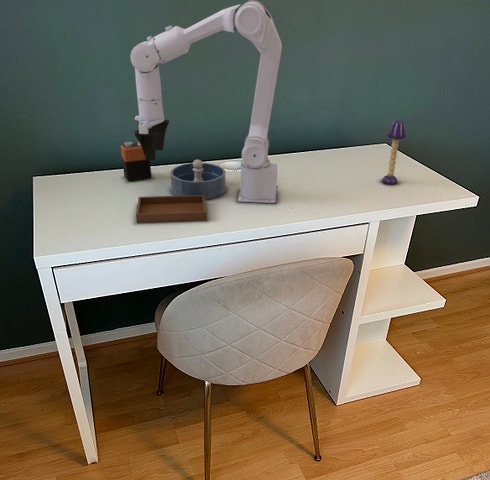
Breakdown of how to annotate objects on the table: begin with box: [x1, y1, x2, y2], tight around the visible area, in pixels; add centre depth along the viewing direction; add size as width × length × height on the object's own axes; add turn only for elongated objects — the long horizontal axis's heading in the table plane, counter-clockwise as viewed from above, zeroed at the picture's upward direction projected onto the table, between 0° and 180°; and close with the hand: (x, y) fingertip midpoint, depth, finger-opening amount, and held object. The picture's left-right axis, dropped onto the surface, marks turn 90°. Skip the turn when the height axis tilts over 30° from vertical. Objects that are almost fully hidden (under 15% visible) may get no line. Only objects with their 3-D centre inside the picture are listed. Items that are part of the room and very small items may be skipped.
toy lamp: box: [381, 119, 406, 186], centre depth 136 cm, size 5×5×17 cm
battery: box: [120, 140, 152, 182], centre depth 137 cm, size 4×7×10 cm, turn 115°
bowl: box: [169, 162, 227, 200], centre depth 132 cm, size 14×14×5 cm
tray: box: [135, 195, 208, 224], centre depth 121 cm, size 16×10×2 cm, turn 97°
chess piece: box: [192, 159, 204, 182], centre depth 131 cm, size 5×5×8 cm
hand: (154, 154), depth 126 cm, fingers open, 7 cm apart
